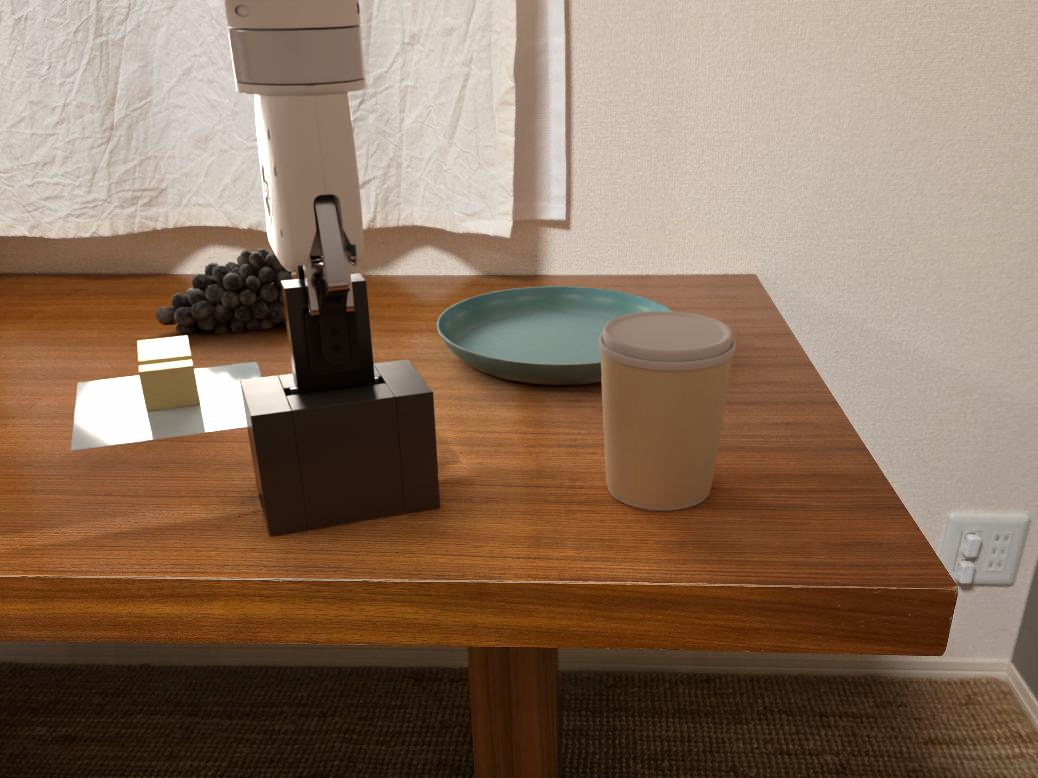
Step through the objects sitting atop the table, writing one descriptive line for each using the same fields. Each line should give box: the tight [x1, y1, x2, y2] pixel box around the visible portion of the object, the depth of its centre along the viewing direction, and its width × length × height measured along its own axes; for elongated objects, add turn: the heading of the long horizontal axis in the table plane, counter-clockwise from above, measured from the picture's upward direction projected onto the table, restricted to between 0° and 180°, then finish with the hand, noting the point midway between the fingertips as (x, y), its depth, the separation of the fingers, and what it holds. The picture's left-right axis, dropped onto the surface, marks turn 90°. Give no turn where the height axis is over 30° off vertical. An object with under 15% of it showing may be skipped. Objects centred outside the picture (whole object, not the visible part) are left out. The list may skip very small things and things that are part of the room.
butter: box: [136, 335, 193, 366], centre depth 90 cm, size 4×6×4 cm
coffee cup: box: [599, 310, 737, 512], centre depth 72 cm, size 9×9×12 cm
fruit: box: [155, 247, 294, 336], centre depth 105 cm, size 9×8×15 cm
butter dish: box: [70, 361, 263, 452], centre depth 88 cm, size 16×16×1 cm
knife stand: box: [240, 359, 441, 537], centre depth 71 cm, size 12×7×9 cm, turn 110°
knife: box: [281, 272, 379, 395], centre depth 69 cm, size 6×2×16 cm, turn 110°
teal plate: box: [436, 285, 673, 386], centre depth 100 cm, size 24×24×3 cm
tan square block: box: [137, 358, 200, 411], centre depth 86 cm, size 4×2×4 cm, turn 110°
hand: (332, 360), depth 68 cm, fingers closed
